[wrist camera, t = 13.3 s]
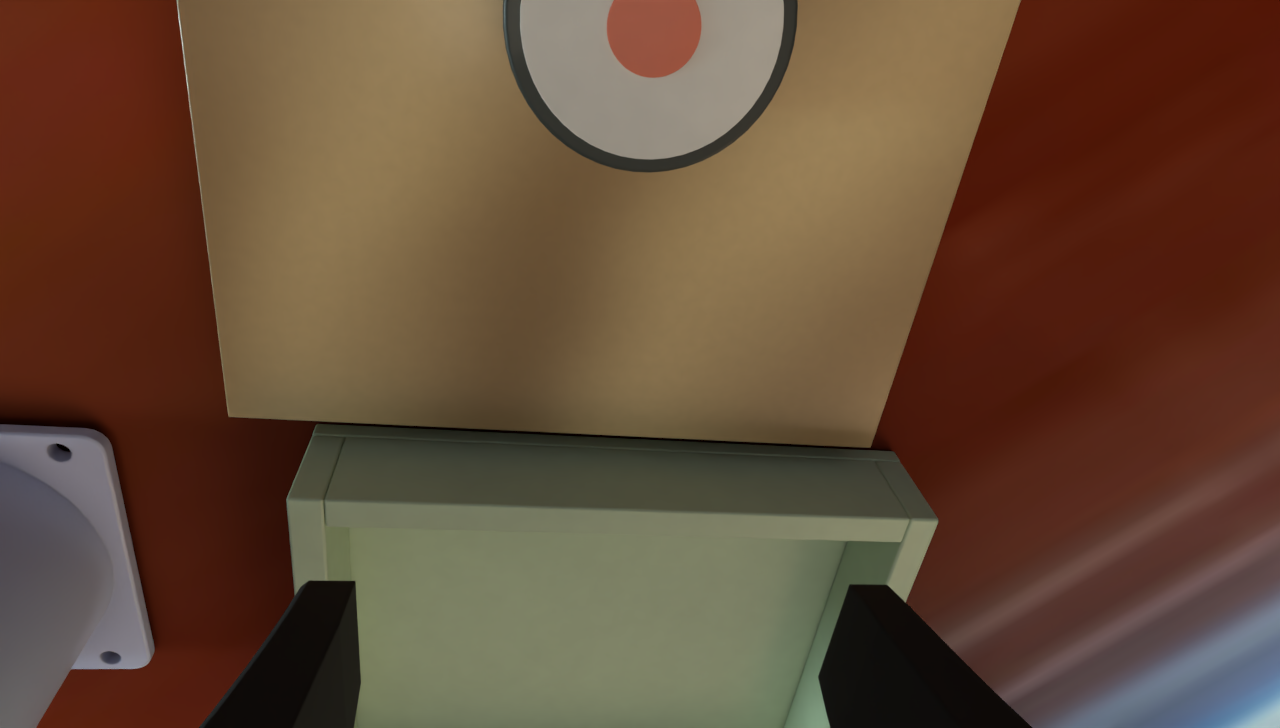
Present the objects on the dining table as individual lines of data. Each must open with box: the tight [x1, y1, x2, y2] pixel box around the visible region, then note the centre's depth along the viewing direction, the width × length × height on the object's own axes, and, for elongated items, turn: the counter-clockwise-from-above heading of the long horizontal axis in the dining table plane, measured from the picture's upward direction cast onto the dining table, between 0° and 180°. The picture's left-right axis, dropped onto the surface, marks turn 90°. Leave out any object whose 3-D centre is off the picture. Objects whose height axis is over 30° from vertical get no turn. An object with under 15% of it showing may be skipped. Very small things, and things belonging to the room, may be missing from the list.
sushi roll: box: [503, 0, 798, 173], centre depth 14 cm, size 4×4×4 cm
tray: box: [286, 424, 938, 728], centre depth 24 cm, size 16×14×3 cm
